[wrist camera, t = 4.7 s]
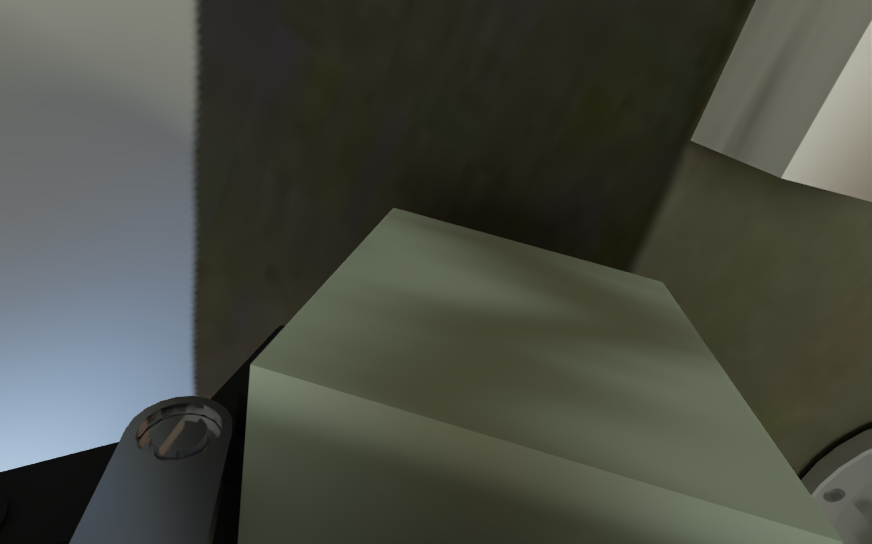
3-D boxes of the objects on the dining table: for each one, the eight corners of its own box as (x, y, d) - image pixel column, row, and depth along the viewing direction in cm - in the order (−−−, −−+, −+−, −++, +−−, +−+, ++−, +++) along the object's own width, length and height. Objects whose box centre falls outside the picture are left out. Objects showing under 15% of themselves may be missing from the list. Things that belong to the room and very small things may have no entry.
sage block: (662, 282, 10) (842, 541, 4) (565, 476, 12) (603, 794, 7) (393, 207, 10) (251, 364, 5) (352, 412, 13) (228, 668, 7)
